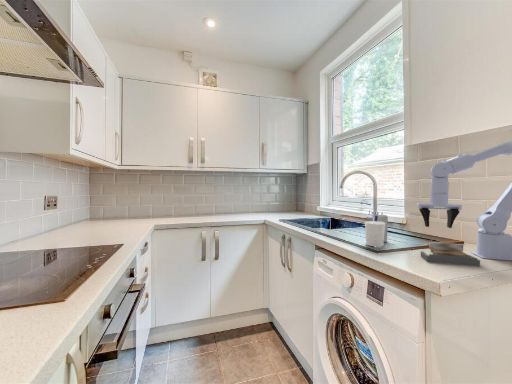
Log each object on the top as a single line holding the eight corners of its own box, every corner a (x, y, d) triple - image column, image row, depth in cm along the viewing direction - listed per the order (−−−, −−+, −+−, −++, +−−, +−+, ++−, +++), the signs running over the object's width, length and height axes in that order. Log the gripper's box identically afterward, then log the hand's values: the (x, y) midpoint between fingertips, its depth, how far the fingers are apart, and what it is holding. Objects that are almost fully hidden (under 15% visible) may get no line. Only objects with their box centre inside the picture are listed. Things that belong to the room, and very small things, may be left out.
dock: (463, 256, 90) (463, 249, 89) (479, 266, 79) (480, 258, 79) (416, 253, 94) (416, 246, 94) (426, 261, 84) (427, 254, 84)
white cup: (360, 244, 107) (361, 221, 106) (372, 242, 111) (372, 220, 110) (377, 248, 100) (377, 224, 100) (388, 246, 104) (389, 223, 103)
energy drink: (371, 240, 115) (372, 214, 115) (380, 239, 117) (380, 214, 117) (380, 242, 110) (381, 216, 110) (389, 241, 112) (390, 215, 112)
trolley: (462, 256, 86) (462, 244, 85) (469, 261, 81) (470, 247, 81) (428, 254, 89) (429, 242, 88) (434, 258, 84) (434, 245, 84)
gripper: (456, 193, 99) (454, 226, 100) (415, 192, 104) (414, 224, 104) (465, 193, 92) (463, 229, 93) (420, 193, 97) (419, 227, 97)
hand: (438, 227), depth 98 cm, fingers open, 7 cm apart
